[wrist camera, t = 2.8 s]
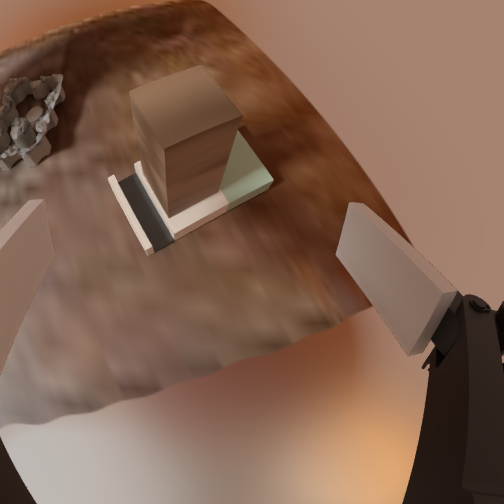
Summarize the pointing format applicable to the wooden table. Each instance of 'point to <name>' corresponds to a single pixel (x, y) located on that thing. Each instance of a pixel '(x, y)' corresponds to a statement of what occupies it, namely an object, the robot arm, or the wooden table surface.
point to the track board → (170, 229)
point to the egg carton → (28, 119)
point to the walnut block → (184, 136)
